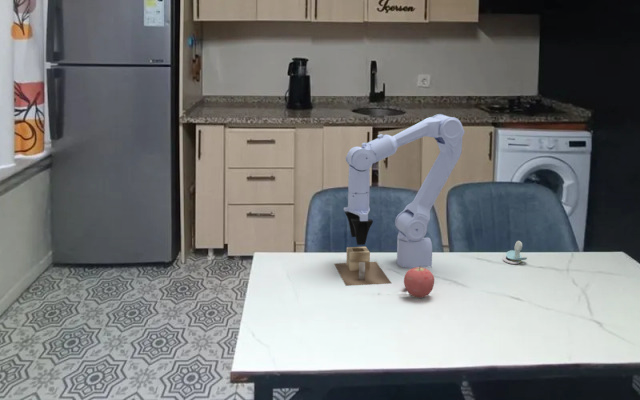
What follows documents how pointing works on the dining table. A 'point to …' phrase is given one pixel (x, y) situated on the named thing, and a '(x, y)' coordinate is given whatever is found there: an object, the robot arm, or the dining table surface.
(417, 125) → the robot arm
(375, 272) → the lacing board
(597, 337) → the dining table surface
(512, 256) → the pacifier
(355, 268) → the open-ended tan box
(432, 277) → the apple
